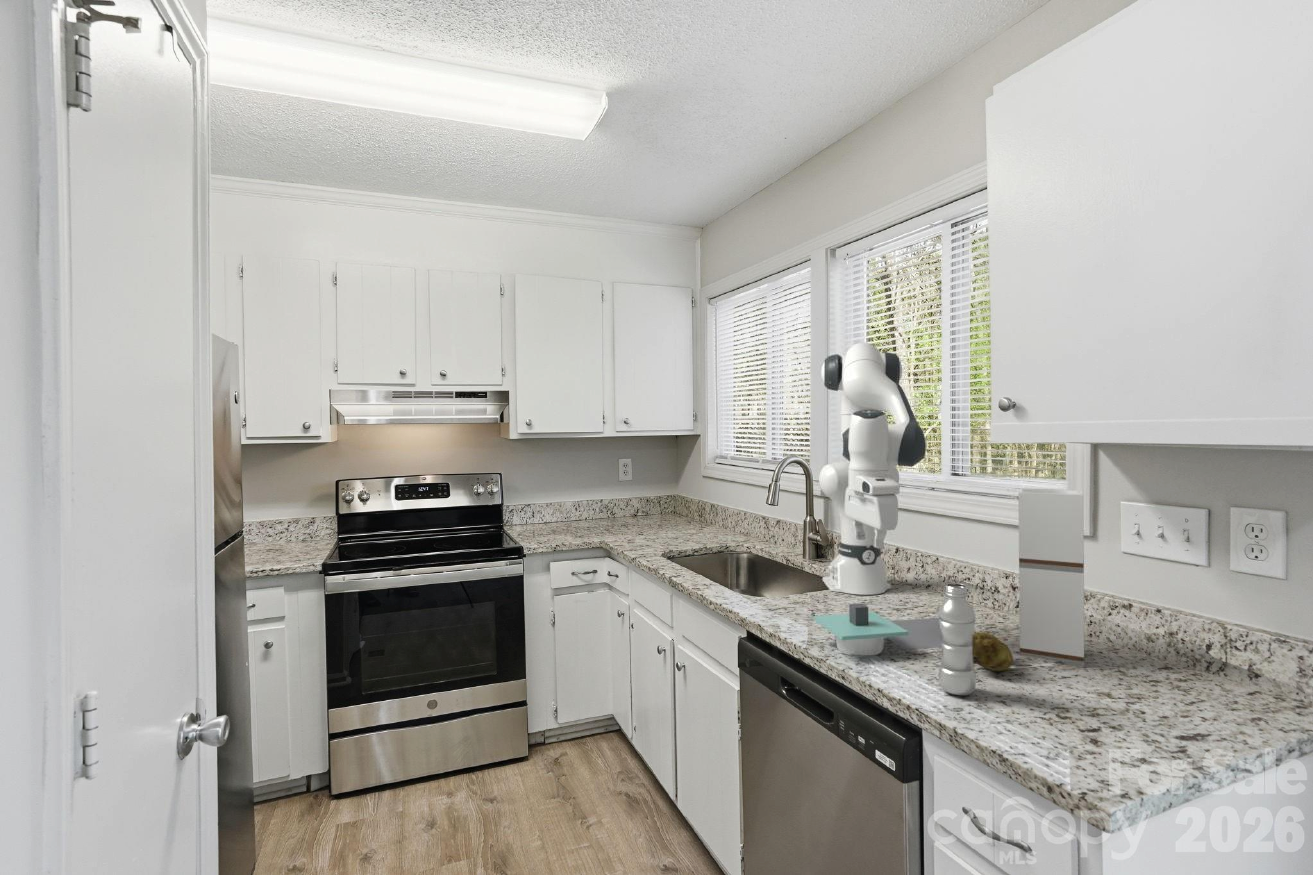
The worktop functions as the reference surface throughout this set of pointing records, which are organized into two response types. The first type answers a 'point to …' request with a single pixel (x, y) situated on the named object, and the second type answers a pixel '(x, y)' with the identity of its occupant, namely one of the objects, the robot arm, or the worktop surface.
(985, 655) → the potato
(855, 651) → the ramekin
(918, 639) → the mat
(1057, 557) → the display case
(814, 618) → the lid
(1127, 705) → the worktop surface
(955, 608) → the plastic bottle
